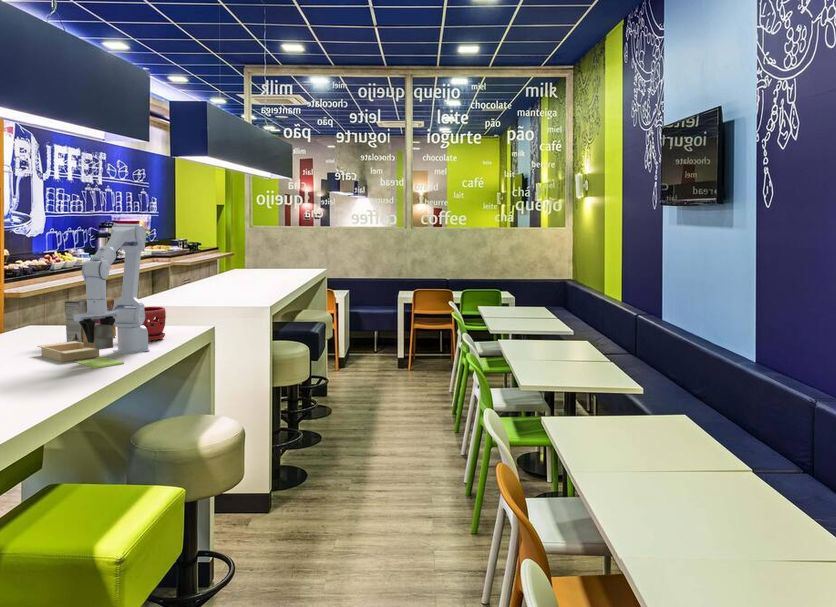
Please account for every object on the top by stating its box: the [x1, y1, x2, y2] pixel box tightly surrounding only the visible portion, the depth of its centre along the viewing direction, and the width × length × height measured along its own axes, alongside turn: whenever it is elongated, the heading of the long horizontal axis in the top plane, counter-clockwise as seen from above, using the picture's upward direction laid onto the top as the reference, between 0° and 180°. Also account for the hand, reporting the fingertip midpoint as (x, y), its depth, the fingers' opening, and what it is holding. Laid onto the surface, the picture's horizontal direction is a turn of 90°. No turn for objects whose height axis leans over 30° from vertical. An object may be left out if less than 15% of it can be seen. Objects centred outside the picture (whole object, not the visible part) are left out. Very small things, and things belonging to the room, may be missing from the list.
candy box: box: [96, 297, 117, 338], centre depth 281 cm, size 9×4×15 cm, turn 141°
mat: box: [73, 357, 125, 370], centre depth 235 cm, size 10×12×1 cm
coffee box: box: [64, 298, 96, 343], centre depth 269 cm, size 9×6×16 cm
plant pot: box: [142, 306, 167, 342], centre depth 280 cm, size 13×13×12 cm
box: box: [83, 323, 114, 351], centre depth 234 cm, size 4×9×7 cm, turn 55°
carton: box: [37, 341, 100, 363], centre depth 244 cm, size 13×19×4 cm
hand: (98, 341), depth 234 cm, fingers closed on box, 4 cm apart
